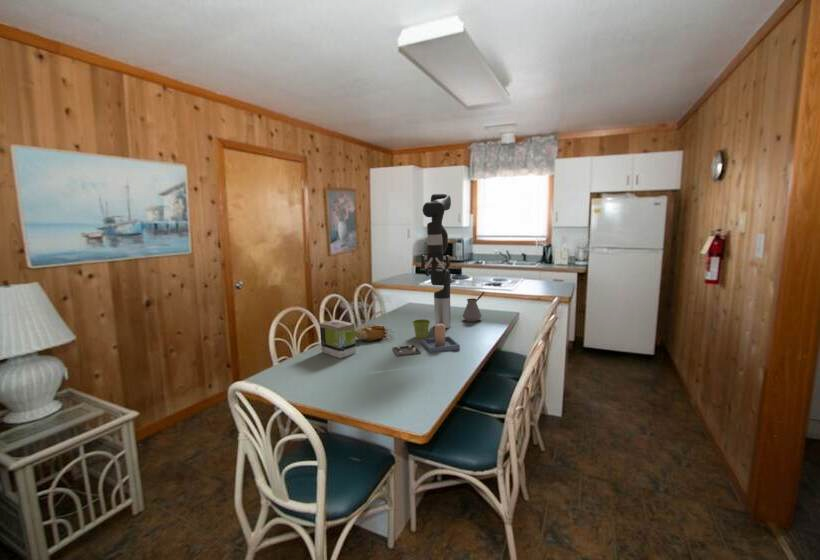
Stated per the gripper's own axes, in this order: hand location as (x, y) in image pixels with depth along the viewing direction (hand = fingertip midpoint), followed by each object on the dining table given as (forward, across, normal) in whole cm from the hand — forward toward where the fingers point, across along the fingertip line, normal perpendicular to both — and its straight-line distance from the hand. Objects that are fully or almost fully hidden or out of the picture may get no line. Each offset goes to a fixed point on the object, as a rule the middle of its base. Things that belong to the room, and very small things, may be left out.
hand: (435, 276), depth 197 cm
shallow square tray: (+33, -4, +9) cm, 35 cm away
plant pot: (+34, +10, -3) cm, 35 cm away
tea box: (+33, +40, +31) cm, 60 cm away
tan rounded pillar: (+33, -4, +9) cm, 34 cm away
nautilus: (+34, +32, +8) cm, 47 cm away
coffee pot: (+35, -9, -49) cm, 60 cm away
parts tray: (+33, +9, +21) cm, 40 cm away
